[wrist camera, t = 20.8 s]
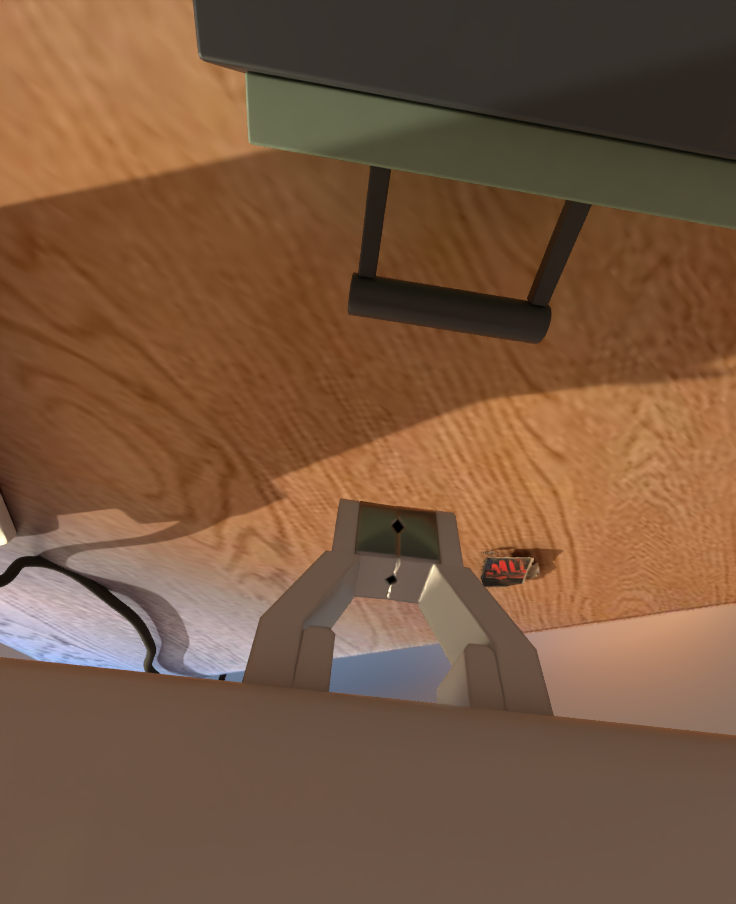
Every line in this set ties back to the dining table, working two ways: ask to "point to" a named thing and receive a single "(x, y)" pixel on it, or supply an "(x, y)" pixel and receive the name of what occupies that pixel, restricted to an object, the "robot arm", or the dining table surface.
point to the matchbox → (507, 570)
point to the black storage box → (506, 59)
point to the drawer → (485, 163)
